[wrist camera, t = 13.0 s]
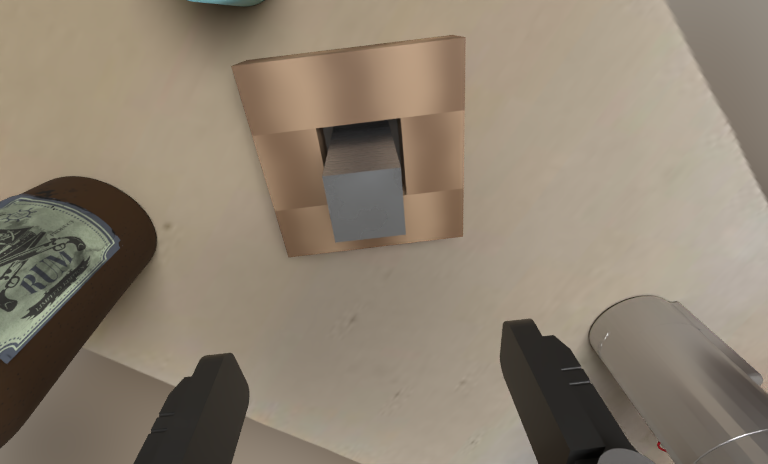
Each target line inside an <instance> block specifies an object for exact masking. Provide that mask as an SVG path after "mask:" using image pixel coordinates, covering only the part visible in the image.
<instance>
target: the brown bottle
mask: <svg viewBox="0 0 768 464" xmlns="http://www.w3.org/2000/svg"><path fill="white" fill-rule="evenodd" d="M155 248H156V234H155V230H154V227H153V225H152V222H151V221H150V219H149V217H148V216H147V214H146V213H145V212H144V210H143V209H142V208H141V207H140V206H139V205H138V204H137V203H136V202H135V201H134V200H133V199H132V198H130V197H129V196H128V195H126V194H125V193H123V192H122V191H120V190H118V189H117V188H115V187H113V186H111V185H108V184H106V183H104V182H101V181H98V180H94V179H90V178H85V177H75V176H70V177H61V178H56V179H53V180H50V181H48V182H45V183H43V184H41V185H39V186H37V187H35V188H32V189H30V190H28V191H26V192H24V193H22V194H19V195H17V196H12V197H10V198H7V199H5V200H3V201H1V202H0V448H1V447H2V446H3V445H5V444H6V443H7V442H8V440H10V439H11V438H12V437H13V436H14V435H15V434H16V432H18V431H19V429H20V428H21V427H22V426H23V425H24V423H25V422H26V421H27V419H28V418H29V417H30V415H31V414H32V413H33V412H34V410H35V409H36V408H37V406H38V405H39V404H40V402H41V401H42V400H43V398H44V397H45V396H46V394H47V393H48V392H49V390H50V389H51V387H52V386H53V385H54V383H55V382H56V381H57V380H58V378H59V377H60V375H61V374H62V373H63V372H64V370H65V369H66V368H67V366H68V365H69V363H70V362H71V361H72V360H73V358H74V357H75V356H76V354H77V353H78V352H79V350H80V349H81V348H82V346H83V345H84V344H85V342H86V341H87V340H88V339H89V337H90V336H91V335H92V333H93V332H94V331H95V329H96V328H97V327H98V325H99V324H100V323H101V322H102V320H103V319H104V318H105V316H106V315H107V314H108V312H109V311H110V310H111V308H112V307H113V306H114V305H115V303H116V302H117V301H118V299H119V298H120V297H121V296H122V294H123V293H124V292H125V291H126V289H127V288H128V287H129V286H130V284H131V283H132V282H133V281H134V279H135V278H136V277H137V276H138V274H139V273H140V272H141V271H142V269H143V268H144V267H145V266H146V264H147V263H148V262H149V261H150V259H151V258H152V256H153V254H154V251H155Z"/></svg>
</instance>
